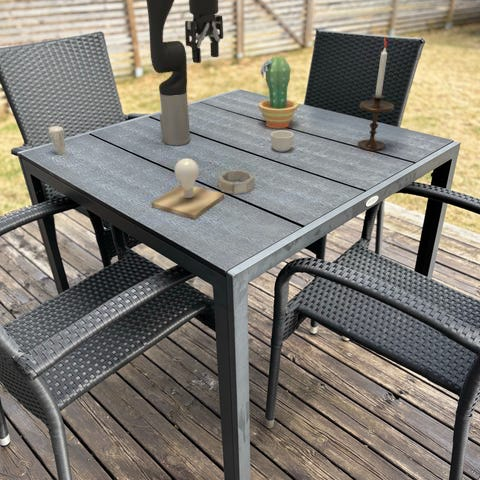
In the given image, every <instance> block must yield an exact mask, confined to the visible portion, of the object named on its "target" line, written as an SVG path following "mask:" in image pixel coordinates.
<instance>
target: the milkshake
mask: <svg viewBox="0 0 480 480" xmlns="http://www.w3.org/2000/svg"><path fill="white" fill-rule="evenodd" d="M63 125H64V121H62V123H61V126H59V125H53V126H50V127H48V132H49V136H50V138H51V141H52V145H53V148H54V152H55V155H64V154H66V153H67V150H66V149H67V148H66V144H65V143H66V142H65V135H64V134H65V133H64V128H63V127H64V126H63Z"/></svg>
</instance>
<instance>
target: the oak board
mask: <svg viewBox="0 0 480 480" xmlns="http://www.w3.org/2000/svg"><path fill="white" fill-rule="evenodd" d="M193 192H194V196H193V197H191V198H186V197H184V191H183V187H182V185H181V184H180V185H178V186H176V187H175V188H173V189H171V190H170V191H168V192H167V193H164V195H162V196H159V198H157V199H155V200H153V201H152V202H151V207H152V208H154V209H157V210H162V211H164V212H167V213H171V214H176V215H178V216H182V217H186V218H189V219H192V220H197V219H198V218H199V217H200V216H201V215H203V214H204V213H205V212H206V213H207V211H209V210H210V209H211V208H212V207H214V206H215V205H217V204H218V203H219V202H221V201H222V200H223V199H225V193H224V192H223V193H222V192H219V191H215V190H211V189H207V188H203V187H200V186H195V185H194V187H193Z"/></svg>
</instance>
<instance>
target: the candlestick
mask: <svg viewBox="0 0 480 480" xmlns="http://www.w3.org/2000/svg"><path fill="white" fill-rule="evenodd" d="M383 42H384V43H383V47H384V48H383V50H382V51H381V53H380V59H379V66H378V67H379V68H378V74H377V81H376V88H375V94H374V95H371V97H372V98H374V99H371V100H362V101H361V102H359V108H360V109H361V110H363V111H364V112H365V111H366V112H370V113H373V115H372V116H373V117H372V122H371V123H369V127H370V130H369V131H368V133H369V134H370V137H369V139H362V140H359V141H358V142H357V148H358V149H360V150H363V151H366V152H381V151H383V150H384V149H385V148H386V144H385V143H384V142H383V141H380V140H376V139H375V136H376V134H377V133H378V132H377V130H376V129H378V127H379V123H377V122H378V115H379V114H381V113H389V112H392V111H394V108H395V104H394V103H392V102H389V101H387V100H386V101H385V100H382V99H384V98H385V96H384V95H383V94H382V93H383V88H384V87H383V86H384V78H385V73H386V65H387V64H386V63H387V60H388V52H387V45H388V44H387V39H386V37H384V38H383Z"/></svg>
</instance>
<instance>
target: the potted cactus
mask: <svg viewBox="0 0 480 480" xmlns="http://www.w3.org/2000/svg"><path fill="white" fill-rule="evenodd" d="M291 69H292V68H291V66H290V64H289V63H288V61H287V59H286V57H285V56H283V57H282V55H280V56H274V57H273V56H272V58H270V59H268V60H266V61H264V63H263V65H262V67H261V69H260V74H261V77H262V78H264V77H265V82H266V84H267V88H268V95H269V99H266V100H262V101H260V102H259V103H257V105H258V106H257V107H258V109H259V110H260V111H261V115H262V117H263V118H264V120H265V121H266V123H265V125H266V127H268V128H270V129H285V128H288V127H289V126H290V121H291V120H292V119H293V118H294V115H295V113H296V111H297V110H298V108H299V103H298V102H296V101H294V100H291V99H288V86H289V84H290V83H289V82H290V80H291V78H290V77H291ZM264 73H265V75H264Z"/></svg>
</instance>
